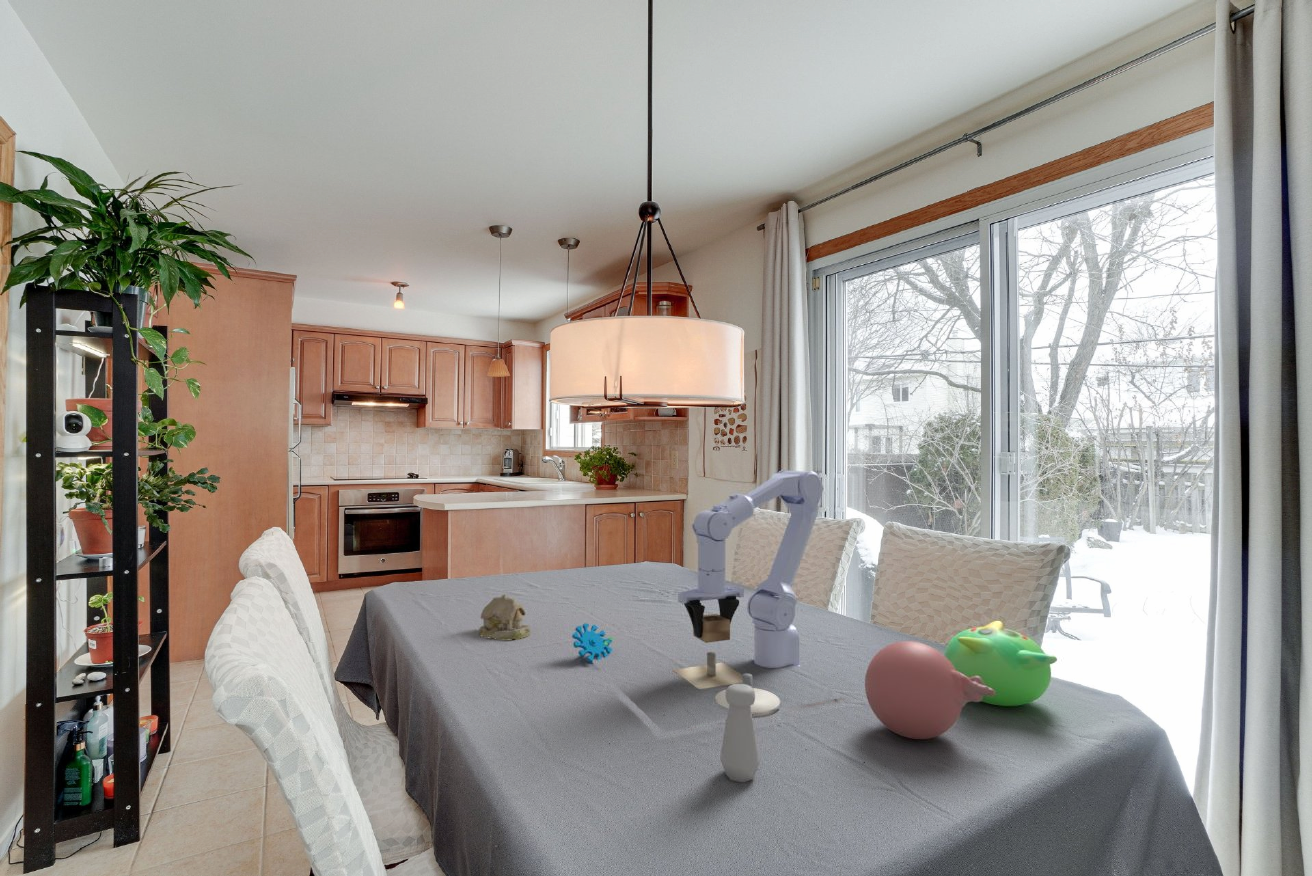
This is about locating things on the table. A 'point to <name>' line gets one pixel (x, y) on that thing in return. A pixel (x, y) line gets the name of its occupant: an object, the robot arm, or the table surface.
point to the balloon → (918, 690)
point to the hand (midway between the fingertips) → (711, 634)
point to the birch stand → (710, 674)
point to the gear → (592, 642)
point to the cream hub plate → (761, 703)
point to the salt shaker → (740, 735)
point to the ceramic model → (503, 619)
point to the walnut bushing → (715, 628)
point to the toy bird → (1002, 663)
